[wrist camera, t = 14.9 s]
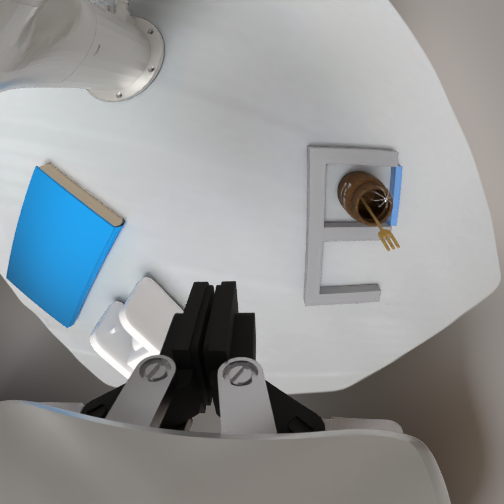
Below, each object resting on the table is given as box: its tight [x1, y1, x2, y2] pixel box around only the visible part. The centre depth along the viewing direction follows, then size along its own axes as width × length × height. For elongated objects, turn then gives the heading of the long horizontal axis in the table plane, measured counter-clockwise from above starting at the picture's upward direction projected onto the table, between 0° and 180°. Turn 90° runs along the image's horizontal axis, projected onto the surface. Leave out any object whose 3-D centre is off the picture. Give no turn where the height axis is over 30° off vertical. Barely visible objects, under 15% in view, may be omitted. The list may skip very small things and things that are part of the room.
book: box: [6, 163, 124, 328], centre depth 42 cm, size 17×4×25 cm
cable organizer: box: [90, 277, 184, 379], centre depth 44 cm, size 15×11×12 cm
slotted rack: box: [304, 146, 402, 306], centre depth 41 cm, size 23×13×2 cm, turn 2°
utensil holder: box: [338, 171, 400, 251], centre depth 34 cm, size 6×6×12 cm
